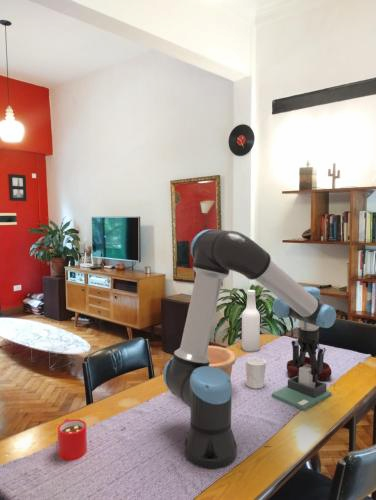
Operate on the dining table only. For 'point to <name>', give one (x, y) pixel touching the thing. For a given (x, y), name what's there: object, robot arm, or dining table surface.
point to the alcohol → (250, 324)
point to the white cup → (255, 372)
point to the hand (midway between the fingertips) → (306, 387)
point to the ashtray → (293, 369)
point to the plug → (305, 375)
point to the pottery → (221, 358)
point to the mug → (72, 439)
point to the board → (302, 394)
